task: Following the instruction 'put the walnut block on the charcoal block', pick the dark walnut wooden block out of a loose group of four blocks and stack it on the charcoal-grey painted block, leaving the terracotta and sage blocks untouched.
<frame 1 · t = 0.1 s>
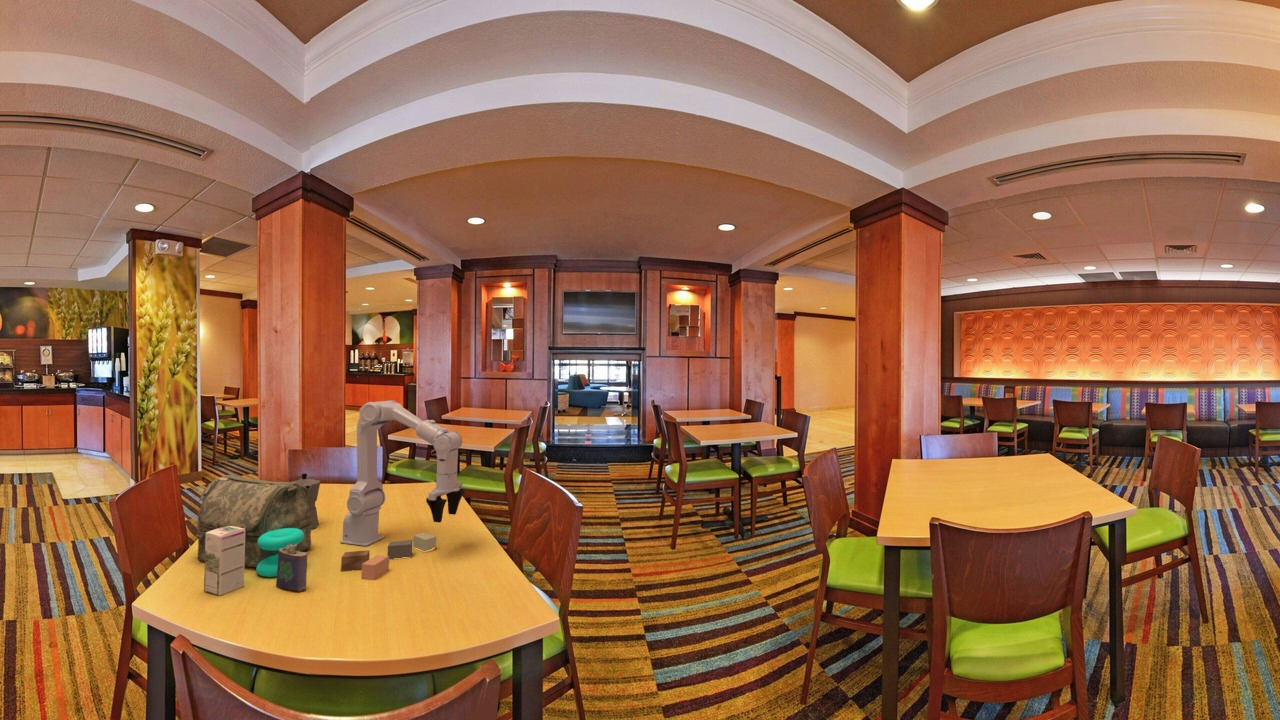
hand: (445, 517, 145), 10 cm above the table, fingers open, 7 cm apart
terracotta block: (375, 575, 129), on the table
donuts: (279, 571, 129), on the table, touching lunch bag
coffeepot: (301, 527, 161), on the table
lunch bag: (253, 555, 138), on the table, touching donuts
flask: (290, 588, 120), on the table
syrup box: (223, 590, 118), on the table
walnut block: (355, 568, 132), on the table
sage block: (424, 549, 147), on the table
charcoal block: (399, 556, 141), on the table
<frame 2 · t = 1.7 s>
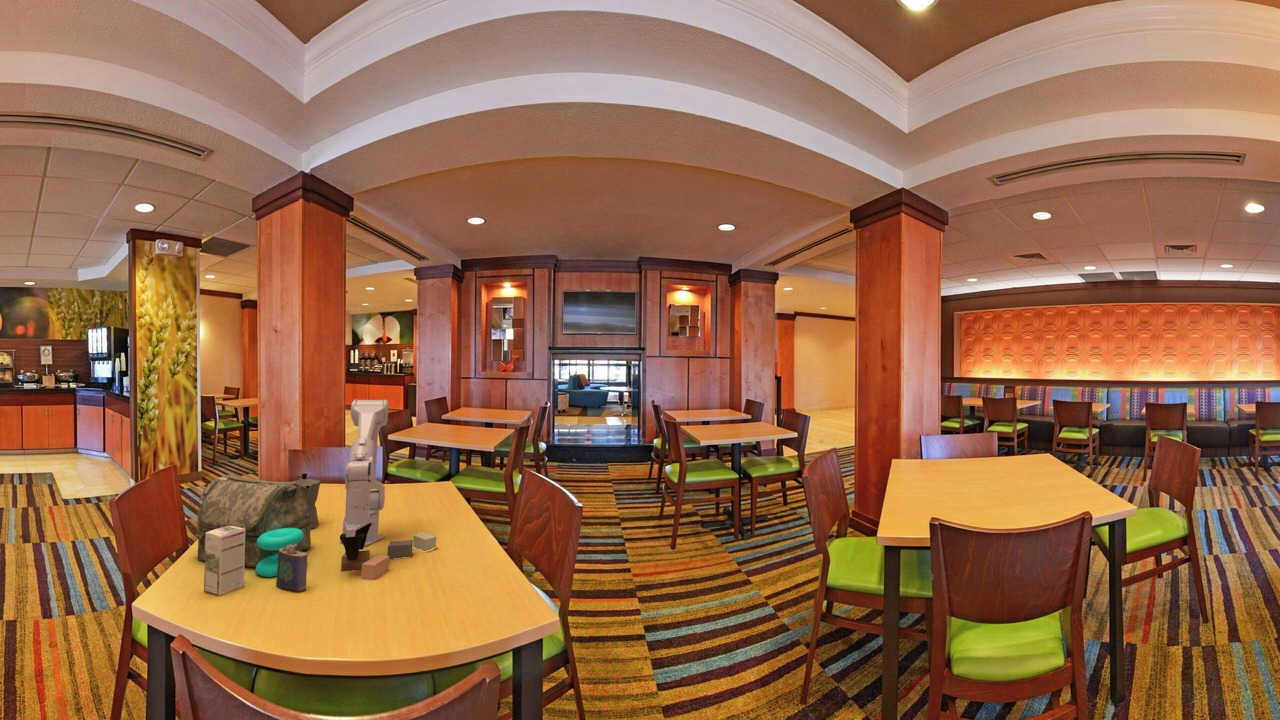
hand: (355, 554, 132), 4 cm above the table, fingers open, 7 cm apart
nothing on the table moved.
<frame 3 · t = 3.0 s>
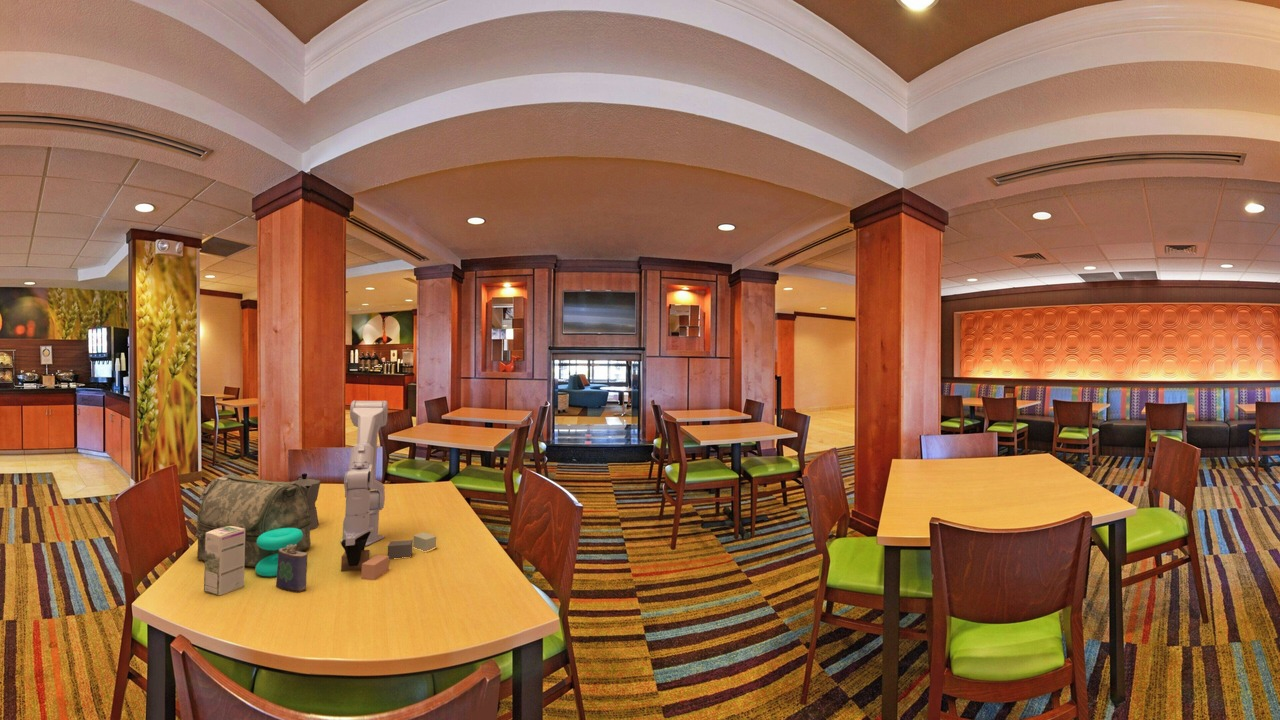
hand: (355, 562, 132), 1 cm above the table, fingers closed on walnut block, 3 cm apart
walnut block: (355, 567, 132), on the table, touching gripper
everything else where it was.
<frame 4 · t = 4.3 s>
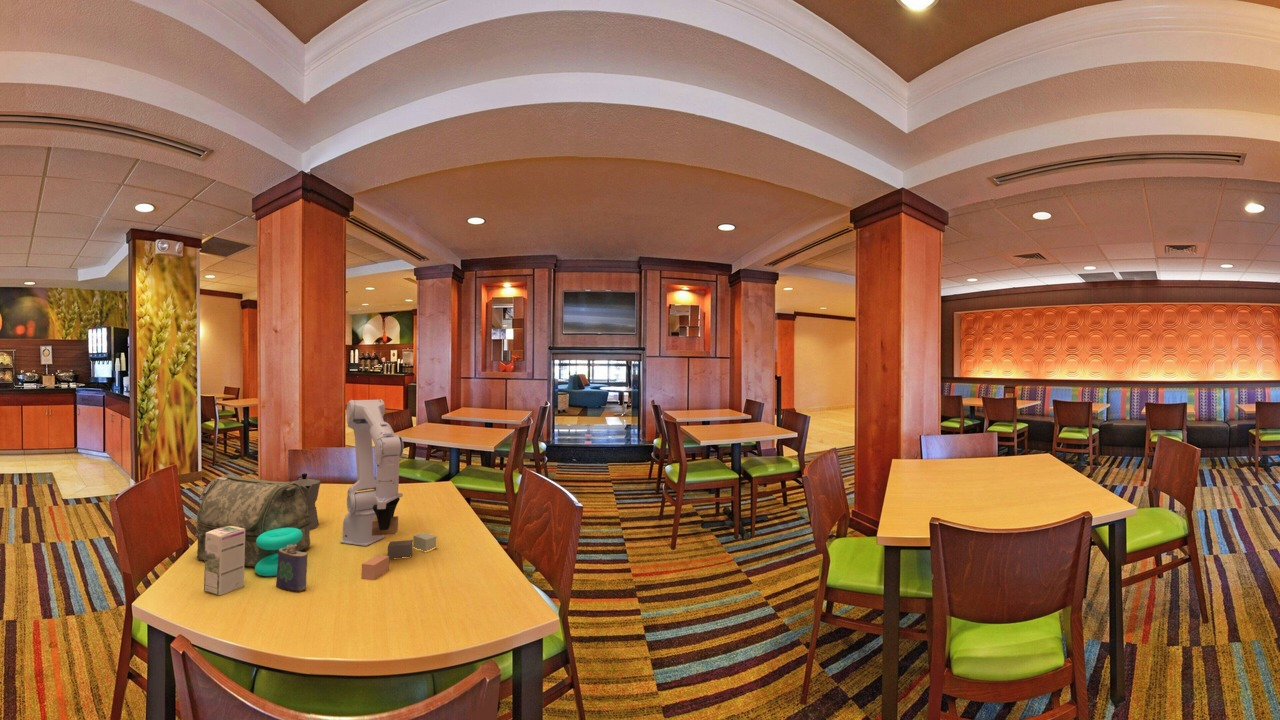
hand: (385, 527, 138), 9 cm above the table, fingers closed on walnut block, 3 cm apart
walnut block: (384, 532, 138), point 8 cm above the table, touching gripper
everything else where it was.
when the fingers open (6 cm above the table, at t = 5.8 s): walnut block stays where it is, resting on charcoal block.
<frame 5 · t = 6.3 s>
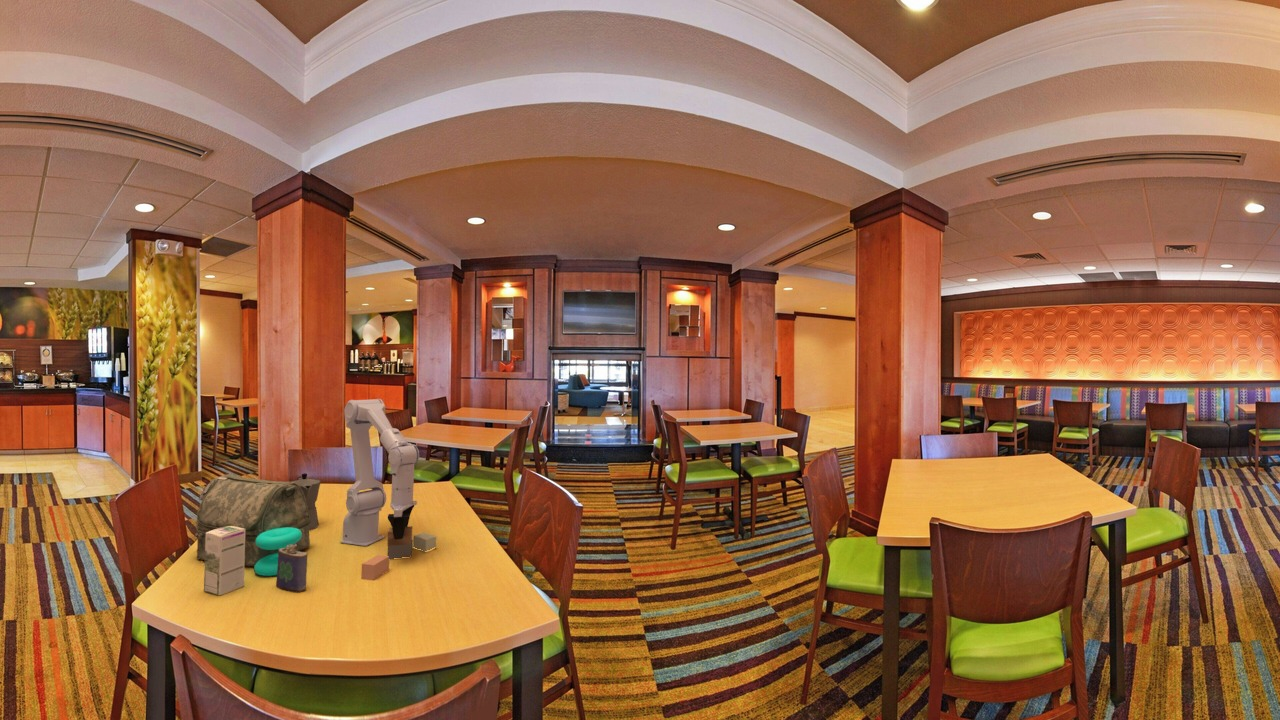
hand: (400, 534, 141), 6 cm above the table, fingers open, 7 cm apart
walnut block: (399, 542, 141), point 4 cm above the table, touching charcoal block
charcoal block: (399, 556, 141), on the table, touching walnut block
everything else where it was.
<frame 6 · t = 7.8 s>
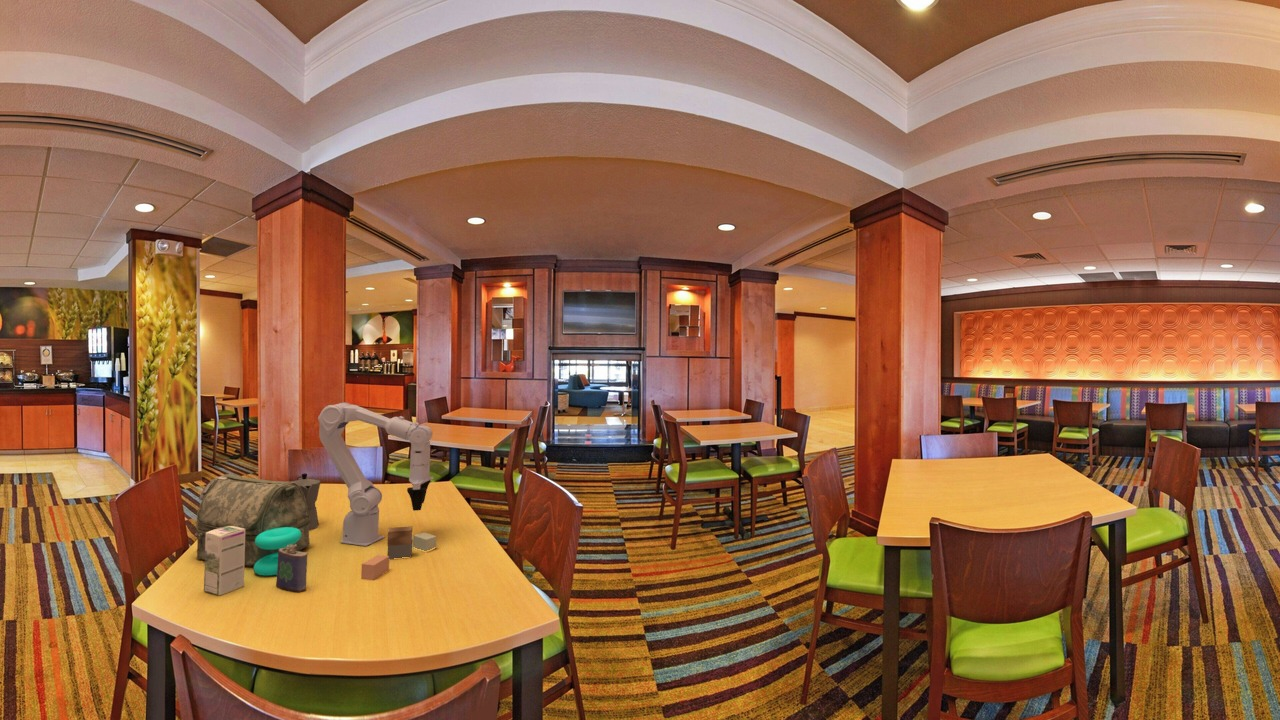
hand: (418, 506, 154), 10 cm above the table, fingers open, 7 cm apart
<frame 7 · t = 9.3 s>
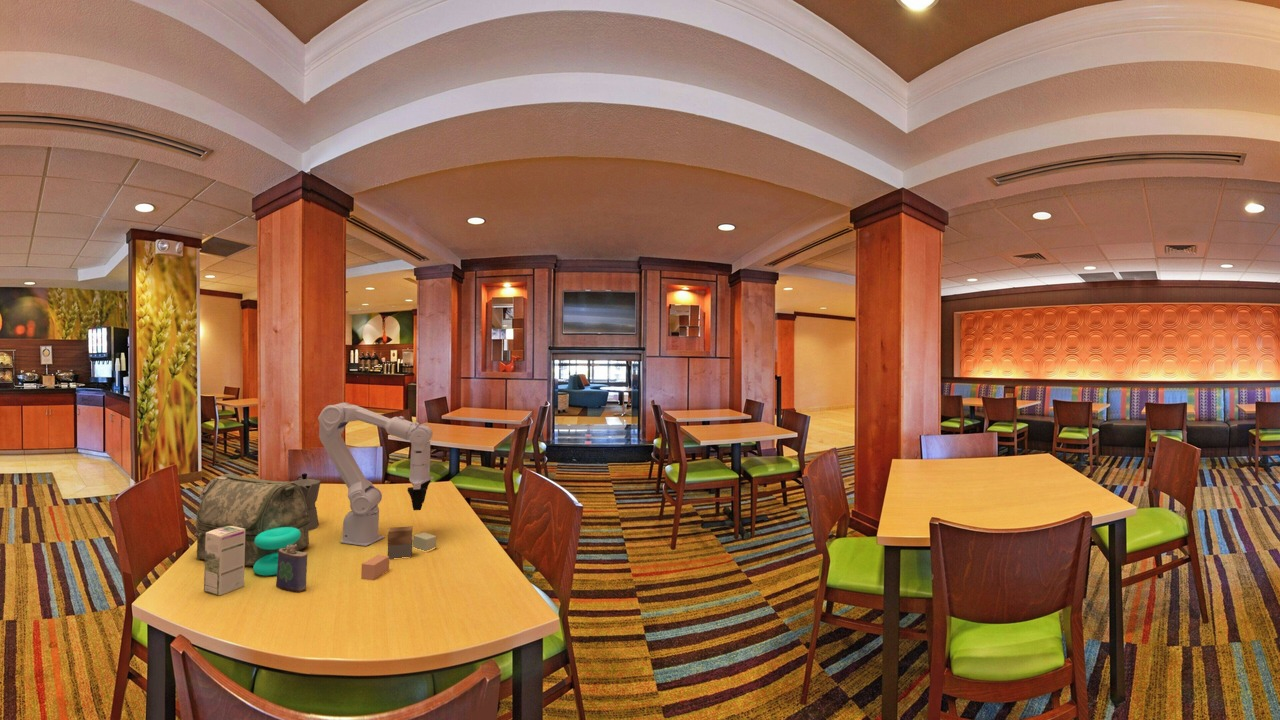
hand: (418, 506, 154), 10 cm above the table, fingers open, 7 cm apart
at the end: walnut block 0.1 cm off-centre on the charcoal block, point 4.0 cm above the charcoal block's base; terracotta block moved 0.2 cm from its start; sage block moved 0.2 cm from its start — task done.
